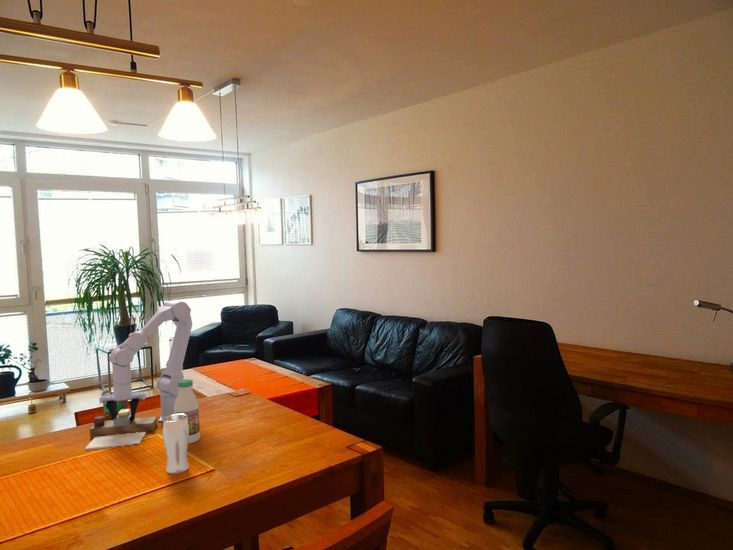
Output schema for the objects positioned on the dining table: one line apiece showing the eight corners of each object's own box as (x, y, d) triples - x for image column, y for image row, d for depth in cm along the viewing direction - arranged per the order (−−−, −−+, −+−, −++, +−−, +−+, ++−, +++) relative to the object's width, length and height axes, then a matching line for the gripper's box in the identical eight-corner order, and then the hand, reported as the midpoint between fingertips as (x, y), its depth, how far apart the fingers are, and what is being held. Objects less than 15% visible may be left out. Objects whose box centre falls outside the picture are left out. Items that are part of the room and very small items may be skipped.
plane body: (157, 424, 176) (156, 409, 176) (153, 431, 169) (152, 415, 169) (96, 430, 172) (95, 415, 171) (90, 437, 165) (89, 421, 165)
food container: (94, 419, 184) (92, 393, 183) (109, 414, 189) (108, 389, 189) (115, 424, 178) (113, 397, 177) (130, 418, 183) (128, 392, 183)
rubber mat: (146, 433, 167) (146, 431, 167) (139, 444, 158) (139, 442, 158) (95, 438, 164) (95, 436, 164) (85, 450, 154) (85, 448, 154)
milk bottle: (169, 443, 158) (167, 382, 157) (187, 435, 165) (184, 376, 164) (188, 446, 155) (185, 384, 154) (205, 437, 162) (202, 378, 161)
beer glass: (165, 476, 134) (163, 423, 133) (163, 467, 140) (160, 416, 140) (192, 471, 137) (189, 418, 137) (188, 461, 143) (186, 411, 143)
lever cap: (134, 418, 174) (133, 407, 174) (129, 425, 168) (129, 413, 167) (119, 419, 173) (118, 408, 173) (113, 426, 166) (113, 415, 166)
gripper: (95, 387, 164) (98, 426, 165) (142, 383, 167) (143, 422, 168) (102, 382, 171) (104, 420, 172) (146, 378, 174) (148, 415, 175)
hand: (124, 420), depth 170 cm, fingers closed on lever cap, 5 cm apart
